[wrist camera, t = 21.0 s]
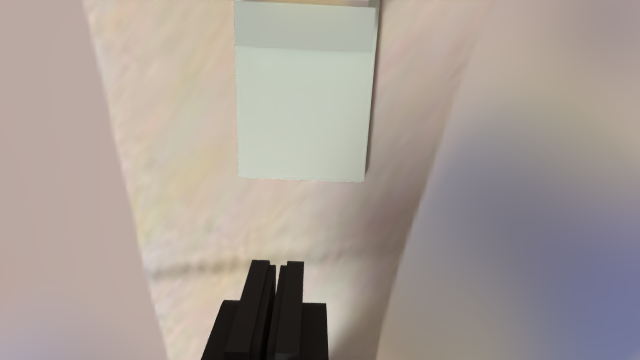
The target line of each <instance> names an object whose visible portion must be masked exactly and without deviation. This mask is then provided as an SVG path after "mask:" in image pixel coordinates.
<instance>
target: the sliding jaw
mask: <svg viewBox="0 0 640 360" xmlns="http://www.w3.org/2000/svg"><path fill="white" fill-rule="evenodd" d="M368 2H369V0H242V1H237V0H234V30H235V46H244V47H264V48H284V49H304V50H324V51H344V52H364V53H372V48H373V37H374V25H375V14H376V8H369V7H368Z"/></svg>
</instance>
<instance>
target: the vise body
mask: <svg viewBox="0 0 640 360" xmlns="http://www.w3.org/2000/svg"><path fill="white" fill-rule="evenodd" d="M237 1H242V0H237ZM379 6H380V0H369V2H368V7H369V8H376V14H375V25H374V37H373V48H372V53H364V52H344V51H324V50H304V49H284V48H264V47H244V46H235V58H236V100H237V143H238V177H241V178H265V179H290V180H314V181H338V182H362V183H364V174H365V163H366V152H367V141H368V130H369V118H370V107H371V96H372V85H373V73H374V62H375V51H376V40H377V29H378V17H379Z"/></svg>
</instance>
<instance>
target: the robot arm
mask: <svg viewBox="0 0 640 360" xmlns="http://www.w3.org/2000/svg"><path fill="white" fill-rule="evenodd" d="M303 275H304V262H299V261H287V266H286V265H281V267H280V273H279V279H278V285H277V291H276V265H270V261H269V260H252V263H251V266H250V269H249V272H248V276H247V279H246V282H245V286H244V289H243V292H242V295H241V299H240V300H224V301H223V302H222V304H221V307H220V310H219V312H218V315H217V318H216V320H215V323H214V326H213V328H212V331H211V334H210V336H209V339H208V342H207V344H206V347H205V350H204V353H203V355H202V358H201V360H329V357H328V333H327V309H326V303H302V301H303Z"/></svg>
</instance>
